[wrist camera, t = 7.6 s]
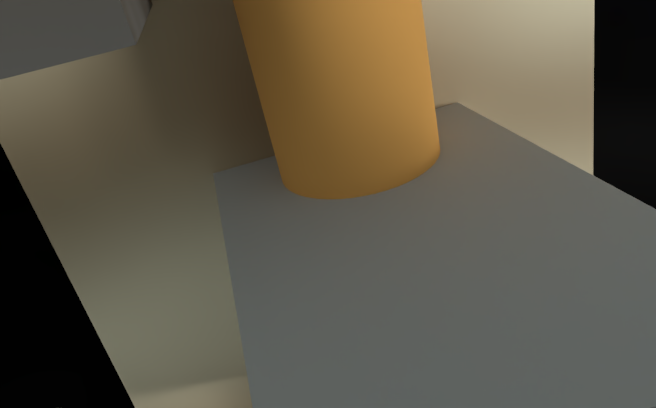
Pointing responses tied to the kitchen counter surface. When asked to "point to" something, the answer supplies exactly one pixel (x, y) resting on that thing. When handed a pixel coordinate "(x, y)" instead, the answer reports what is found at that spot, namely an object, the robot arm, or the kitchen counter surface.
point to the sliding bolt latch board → (220, 152)
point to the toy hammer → (421, 236)
